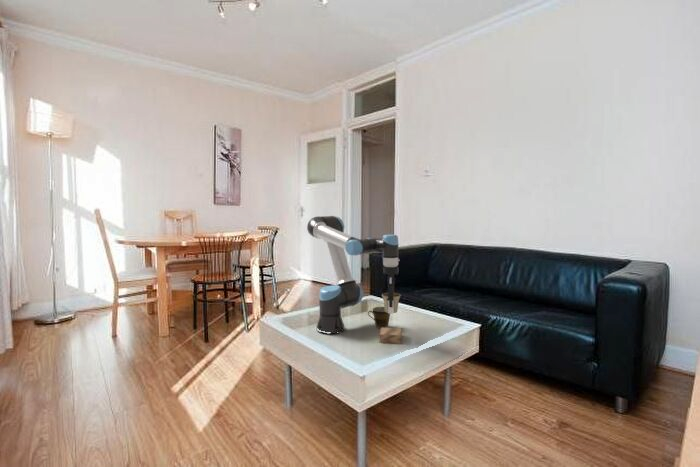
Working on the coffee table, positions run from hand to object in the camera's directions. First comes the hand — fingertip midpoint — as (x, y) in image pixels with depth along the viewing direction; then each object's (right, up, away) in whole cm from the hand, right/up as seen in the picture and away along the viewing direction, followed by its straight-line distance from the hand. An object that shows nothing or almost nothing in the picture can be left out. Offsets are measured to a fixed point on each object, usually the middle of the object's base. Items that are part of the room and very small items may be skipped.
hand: (391, 310), depth 179 cm
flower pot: (0, -1, 0) cm, 1 cm away
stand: (0, -15, +1) cm, 15 cm away
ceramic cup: (-4, -14, +20) cm, 25 cm away
